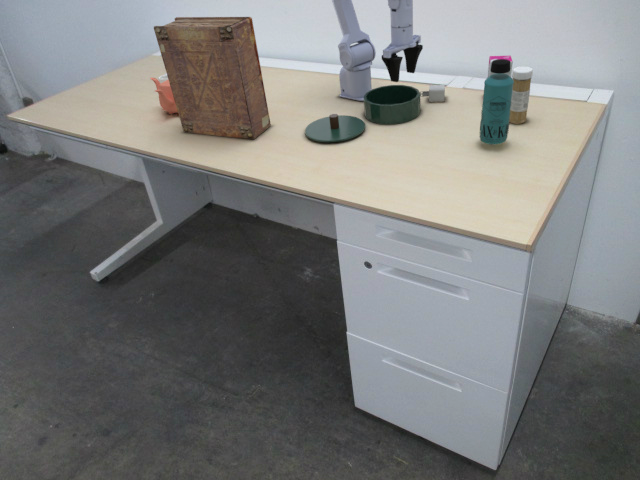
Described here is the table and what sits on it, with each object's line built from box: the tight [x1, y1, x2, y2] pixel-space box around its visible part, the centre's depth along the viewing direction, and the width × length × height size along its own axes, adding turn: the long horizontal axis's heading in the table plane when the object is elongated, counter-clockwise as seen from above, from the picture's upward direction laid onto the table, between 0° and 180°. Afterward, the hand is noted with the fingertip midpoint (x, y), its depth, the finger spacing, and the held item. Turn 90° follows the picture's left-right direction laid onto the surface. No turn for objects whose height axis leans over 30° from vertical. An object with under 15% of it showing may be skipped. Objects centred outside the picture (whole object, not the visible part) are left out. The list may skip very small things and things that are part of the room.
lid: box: [304, 113, 366, 143], centre depth 139 cm, size 16×16×4 cm
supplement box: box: [486, 55, 514, 79], centre depth 141 cm, size 6×6×12 cm
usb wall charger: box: [419, 84, 446, 103], centre depth 149 cm, size 4×7×4 cm, turn 79°
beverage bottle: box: [479, 59, 514, 145], centre depth 117 cm, size 6×7×20 cm
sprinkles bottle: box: [509, 66, 534, 125], centre depth 128 cm, size 5×5×14 cm
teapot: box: [149, 77, 178, 115], centre depth 164 cm, size 14×14×11 cm
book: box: [153, 16, 272, 140], centre depth 141 cm, size 25×9×30 cm, turn 64°
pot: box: [363, 84, 421, 125], centre depth 144 cm, size 15×15×5 cm
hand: (402, 76), depth 141 cm, fingers open, 7 cm apart
